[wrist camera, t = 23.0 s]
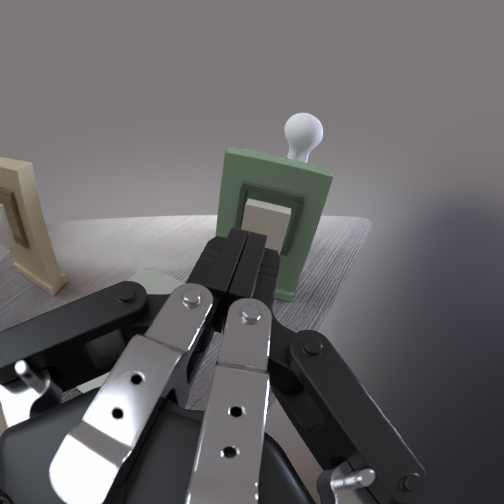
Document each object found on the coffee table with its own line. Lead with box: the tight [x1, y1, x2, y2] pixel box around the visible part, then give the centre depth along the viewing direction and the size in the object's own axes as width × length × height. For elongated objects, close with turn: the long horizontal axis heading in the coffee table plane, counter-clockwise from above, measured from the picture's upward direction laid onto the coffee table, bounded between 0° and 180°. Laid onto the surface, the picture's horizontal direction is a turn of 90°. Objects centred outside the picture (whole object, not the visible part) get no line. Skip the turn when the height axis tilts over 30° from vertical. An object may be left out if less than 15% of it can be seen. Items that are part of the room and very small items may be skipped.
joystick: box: [284, 113, 323, 163], centre depth 35 cm, size 11×8×20 cm
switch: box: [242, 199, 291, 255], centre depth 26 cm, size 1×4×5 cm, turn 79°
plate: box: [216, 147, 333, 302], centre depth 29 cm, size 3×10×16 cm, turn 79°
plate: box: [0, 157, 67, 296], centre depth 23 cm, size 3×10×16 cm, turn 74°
